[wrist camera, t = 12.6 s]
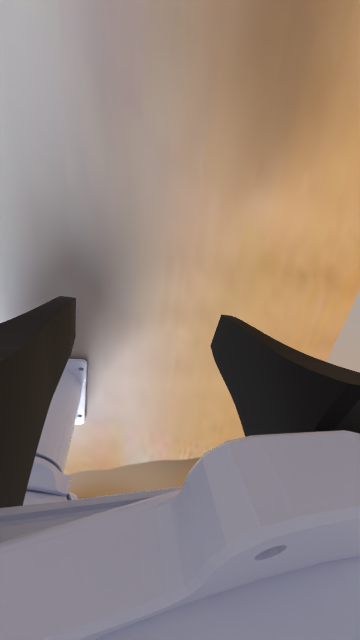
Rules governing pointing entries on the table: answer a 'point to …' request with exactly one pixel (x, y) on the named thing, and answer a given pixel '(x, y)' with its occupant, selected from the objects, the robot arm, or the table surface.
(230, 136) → the table surface
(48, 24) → the table surface
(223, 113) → the table surface
